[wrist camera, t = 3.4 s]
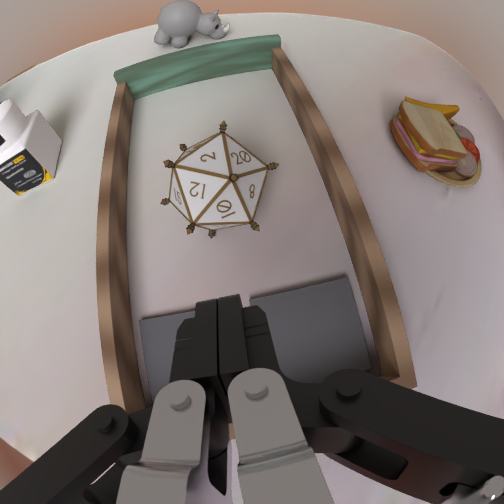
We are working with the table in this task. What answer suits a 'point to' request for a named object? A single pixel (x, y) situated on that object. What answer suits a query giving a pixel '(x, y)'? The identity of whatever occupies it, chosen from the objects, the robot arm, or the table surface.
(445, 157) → the toy sandwich meal
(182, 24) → the toy rhinoceros
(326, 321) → the trap pads
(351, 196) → the walnut track
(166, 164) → the game die
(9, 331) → the table surface
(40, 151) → the medicine bottle
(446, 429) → the robot arm
